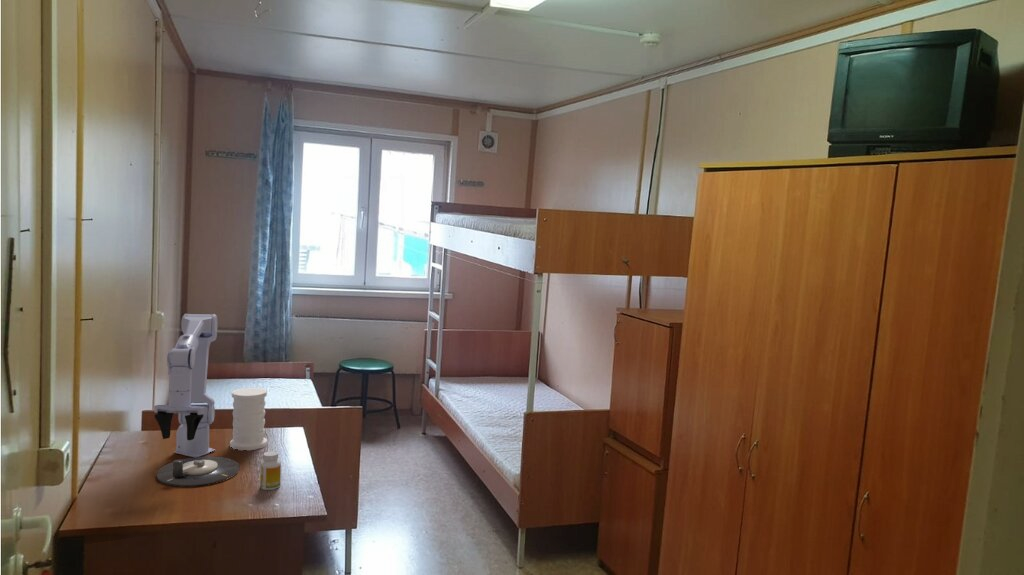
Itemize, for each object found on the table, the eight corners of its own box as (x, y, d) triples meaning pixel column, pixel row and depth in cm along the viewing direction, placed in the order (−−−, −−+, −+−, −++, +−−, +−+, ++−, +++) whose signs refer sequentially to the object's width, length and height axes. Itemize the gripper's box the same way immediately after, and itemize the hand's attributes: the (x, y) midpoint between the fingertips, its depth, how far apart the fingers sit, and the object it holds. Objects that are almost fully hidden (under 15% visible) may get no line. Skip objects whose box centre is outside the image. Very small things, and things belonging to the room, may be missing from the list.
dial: (200, 460, 213) (200, 446, 212) (225, 466, 209) (225, 451, 208) (161, 475, 200) (161, 459, 199) (186, 481, 196) (187, 465, 196)
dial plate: (139, 477, 200) (139, 473, 200) (201, 455, 220) (201, 451, 220) (196, 492, 192) (196, 488, 192) (255, 467, 212) (255, 464, 212)
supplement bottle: (284, 485, 200) (285, 452, 199) (272, 491, 195) (272, 457, 194) (268, 482, 202) (269, 449, 201) (256, 488, 197) (256, 454, 196)
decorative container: (251, 452, 225) (252, 397, 223) (222, 447, 229) (222, 393, 227) (274, 442, 236) (275, 389, 234) (246, 437, 240) (246, 385, 238)
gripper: (147, 391, 196) (145, 440, 196) (194, 393, 194) (193, 442, 193) (163, 388, 203) (162, 435, 203) (209, 390, 201) (208, 438, 200)
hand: (178, 439), depth 198 cm, fingers open, 7 cm apart
